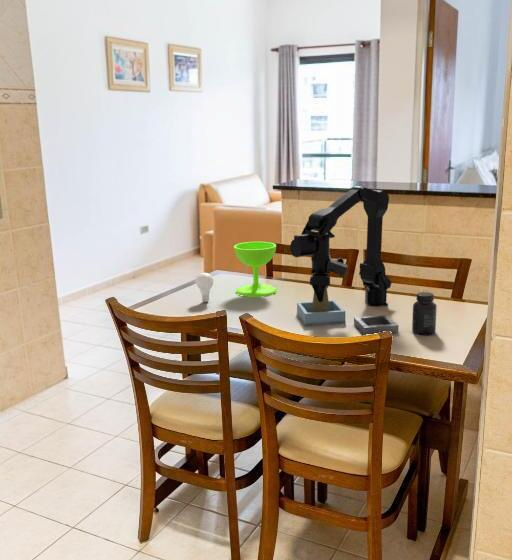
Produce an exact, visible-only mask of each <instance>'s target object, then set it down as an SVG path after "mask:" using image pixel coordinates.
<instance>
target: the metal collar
mask: <svg viewBox="0 0 512 560" xmlns="http://www.w3.org/2000/svg"><path fill="white" fill-rule="evenodd" d="M353 325H354V326H355V328H356V329H357V330H358V331H359V332H360V333H361V334H362V335H363V336H364V335H366V334H374V333H379V332H383V331H391V332H392V334H391V335H393V334H399V324H398V323H396V321H394V320H393V319H392V318H391V317H390V316H388V315H387V314H383V315H380V314H379V315H369V316H355V317H353Z"/></svg>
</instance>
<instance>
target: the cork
mask: <svg viewBox="0 0 512 560" xmlns="http://www.w3.org/2000/svg"><path fill="white" fill-rule="evenodd" d="M329 286H330V285H327V286H326V287H325V291H324V296H323V301H322V302H319V301H318V299H317V296H316V294H315V292H314V291H313V298H312V302H313V304H312V312H327V311H330V308H329V294H328V288H329Z"/></svg>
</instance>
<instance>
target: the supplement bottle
mask: <svg viewBox="0 0 512 560" xmlns="http://www.w3.org/2000/svg"><path fill="white" fill-rule="evenodd" d="M437 310H438V308H437V304H436V303H435V301H434V293H431V292H429V291H421V292H420V291H419V292H417V293H416V301H415V302H414V303H413V305H412V317H411V318H412V320H411V321H412V323H411V331H412V333H413V334H415V335H417V336H424V337H425V336H427V337H428V336H433V335H434V334H436V330H437V329H436V328H437Z"/></svg>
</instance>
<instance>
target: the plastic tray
mask: <svg viewBox="0 0 512 560" xmlns="http://www.w3.org/2000/svg"><path fill="white" fill-rule="evenodd" d="M328 301H329V308H330V311H327V312H312V304H313V301H303V302H302V301H301V302H296V314H297V316H298V317H299V319H300V321H301V322H302V323H303V324H304V326H305V327H309V326H311V327H312V326H325V325H336V324H337V325H338V324H340V325H341V324H346V310H345V308H343V307H342V306H341V305H340V303H338V302H337V301H336V300H335V299H331V300H330V299H328Z"/></svg>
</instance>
